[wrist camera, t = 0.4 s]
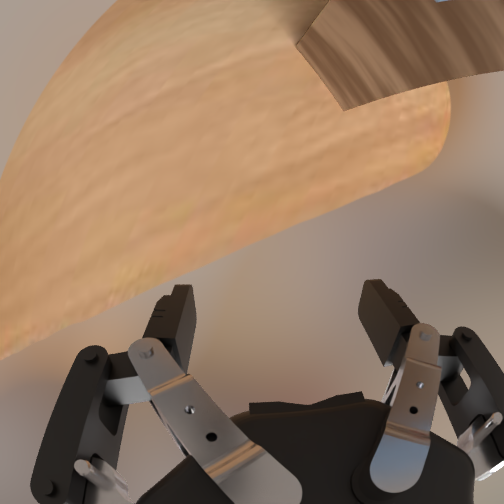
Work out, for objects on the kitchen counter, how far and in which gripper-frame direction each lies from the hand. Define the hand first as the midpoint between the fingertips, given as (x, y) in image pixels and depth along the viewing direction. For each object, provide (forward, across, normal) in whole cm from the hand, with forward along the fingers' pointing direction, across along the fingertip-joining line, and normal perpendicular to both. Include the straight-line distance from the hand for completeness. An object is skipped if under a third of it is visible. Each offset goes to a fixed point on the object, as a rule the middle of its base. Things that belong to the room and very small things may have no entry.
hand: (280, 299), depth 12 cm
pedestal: (+30, -14, -19) cm, 39 cm away
